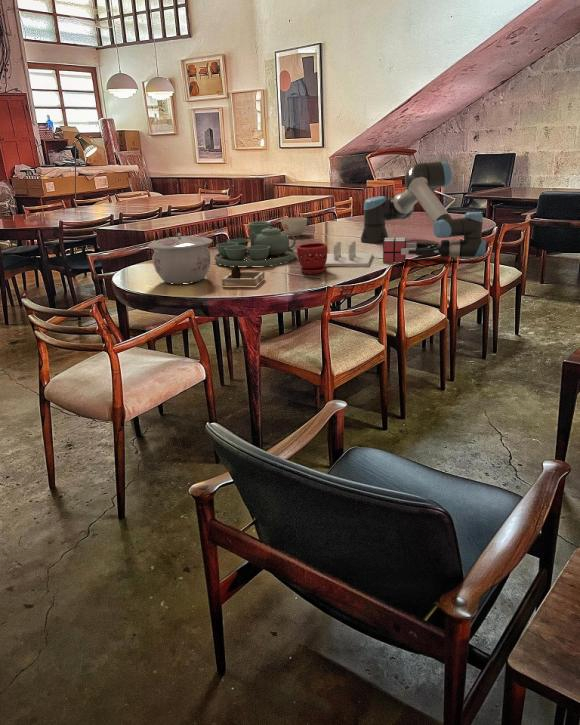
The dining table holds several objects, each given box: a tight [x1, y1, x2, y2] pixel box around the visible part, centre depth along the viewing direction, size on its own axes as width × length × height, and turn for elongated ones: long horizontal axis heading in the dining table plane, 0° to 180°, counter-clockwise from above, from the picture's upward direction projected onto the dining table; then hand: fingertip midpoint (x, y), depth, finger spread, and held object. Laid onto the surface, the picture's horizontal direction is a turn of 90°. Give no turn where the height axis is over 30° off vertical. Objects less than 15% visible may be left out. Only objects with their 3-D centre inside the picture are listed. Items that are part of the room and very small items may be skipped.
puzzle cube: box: [382, 237, 407, 264], centre depth 268 cm, size 10×10×10 cm
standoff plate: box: [325, 241, 374, 268], centre depth 273 cm, size 24×24×8 cm
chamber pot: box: [146, 232, 213, 285], centre depth 248 cm, size 28×28×21 cm
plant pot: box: [296, 242, 328, 275], centre depth 254 cm, size 13×13×12 cm
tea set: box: [214, 220, 297, 267], centre depth 285 cm, size 40×40×16 cm
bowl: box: [280, 216, 308, 237], centre depth 350 cm, size 16×16×10 cm
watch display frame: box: [221, 271, 266, 287], centre depth 241 cm, size 14×14×4 cm
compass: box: [230, 266, 242, 279], centre depth 242 cm, size 8×8×7 cm
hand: (401, 248), depth 266 cm, fingers open, 13 cm apart
